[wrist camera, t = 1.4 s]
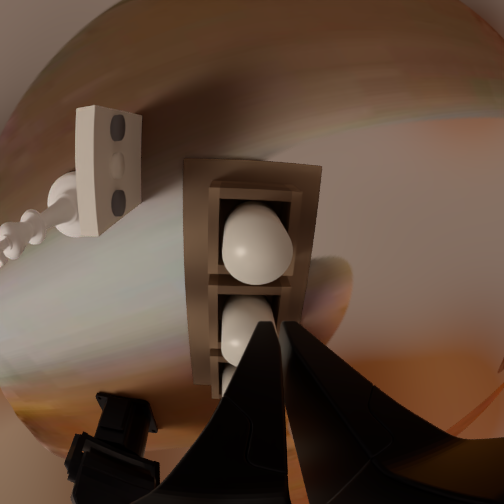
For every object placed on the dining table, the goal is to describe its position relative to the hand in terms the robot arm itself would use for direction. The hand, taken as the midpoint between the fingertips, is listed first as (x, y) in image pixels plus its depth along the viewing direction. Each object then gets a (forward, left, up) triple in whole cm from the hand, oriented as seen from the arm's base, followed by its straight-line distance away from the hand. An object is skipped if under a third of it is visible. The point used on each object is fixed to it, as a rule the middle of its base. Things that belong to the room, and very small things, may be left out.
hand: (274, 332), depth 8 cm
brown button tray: (-6, 0, -12) cm, 13 cm away
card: (+4, +8, -12) cm, 15 cm away
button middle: (-6, 0, -10) cm, 12 cm away
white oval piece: (0, 0, -10) cm, 10 cm away
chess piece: (+1, +13, -12) cm, 18 cm away
